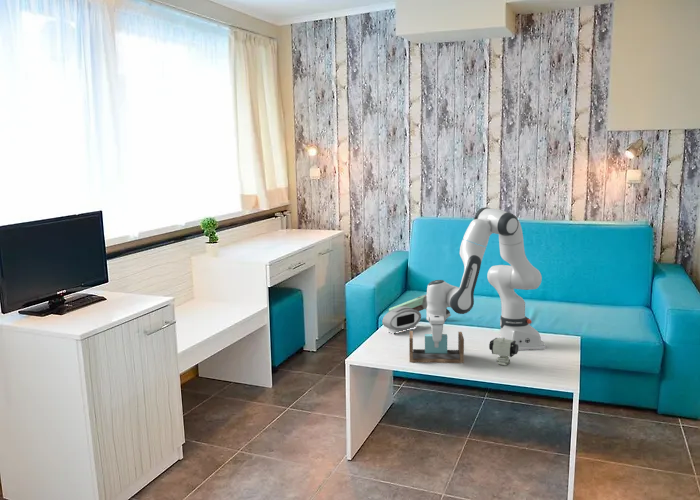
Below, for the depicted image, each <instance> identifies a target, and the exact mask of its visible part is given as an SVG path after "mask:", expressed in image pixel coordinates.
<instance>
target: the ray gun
mask: <svg viewBox="0 0 700 500" xmlns="http://www.w3.org/2000/svg"><path fill="white" fill-rule="evenodd" d="M398 307H410V308H412V309H414V310H417V311H419V312H421V311H424V310H426V311H427V294H423V295H420V296H417V297H415V298H413V299H409V300H408V301H404V302H402V303H399V304H398V305H395V306H392V307H390V308H388V312H390V311H391V310H393V309H395V308H398ZM451 316H452V314H451V311H450V310H449V309H448V308H446V319H448V318H450V317H451Z"/></svg>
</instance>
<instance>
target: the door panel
mask: <svg viewBox="0 0 700 500" xmlns="http://www.w3.org/2000/svg"><path fill="white" fill-rule="evenodd" d="M424 349H425V353H446V354H447V350H448V334H447V333H444V334H443V333H442V339H441V341H440V342H439V347H438V348H435V347H434V341H433V337H432V333H424Z"/></svg>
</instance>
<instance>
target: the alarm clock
mask: <svg viewBox="0 0 700 500" xmlns="http://www.w3.org/2000/svg"><path fill="white" fill-rule="evenodd" d="M421 320H422V314H421V311H417V310H414V309H412V308H410V307H398V308H395V309H393V310H391V311H390V312H389V311H388V312H387V313H385V314H384V316H383V318H382V325H383V326H384V327H385V328H386V329H387V332H388V331H389V332H392V333H396V332H399V331H403V330H407V329H410V328H414V327H416V328H417V325H418V324H419V322H421Z"/></svg>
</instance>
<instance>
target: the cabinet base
mask: <svg viewBox="0 0 700 500" xmlns="http://www.w3.org/2000/svg"><path fill="white" fill-rule="evenodd" d="M413 333H414V331H413V330H409V338H408V339H409V341H408V343H409V344H408V346H409V363H435V364H437V363H438V364H439V363H443V364H464V363H465V353H464V350H465V338H464V335H463V332H462V331H457V333H458V339H457V341H458V342H457V343H458V344H457V345H458V347H457V348H458V349H447V354H446V353H425V348H424V349H423V348H422V349H421V348H420V349H418V348H416V349H415V348H414V343H413V342H414V337H413V336H414V334H413Z"/></svg>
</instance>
